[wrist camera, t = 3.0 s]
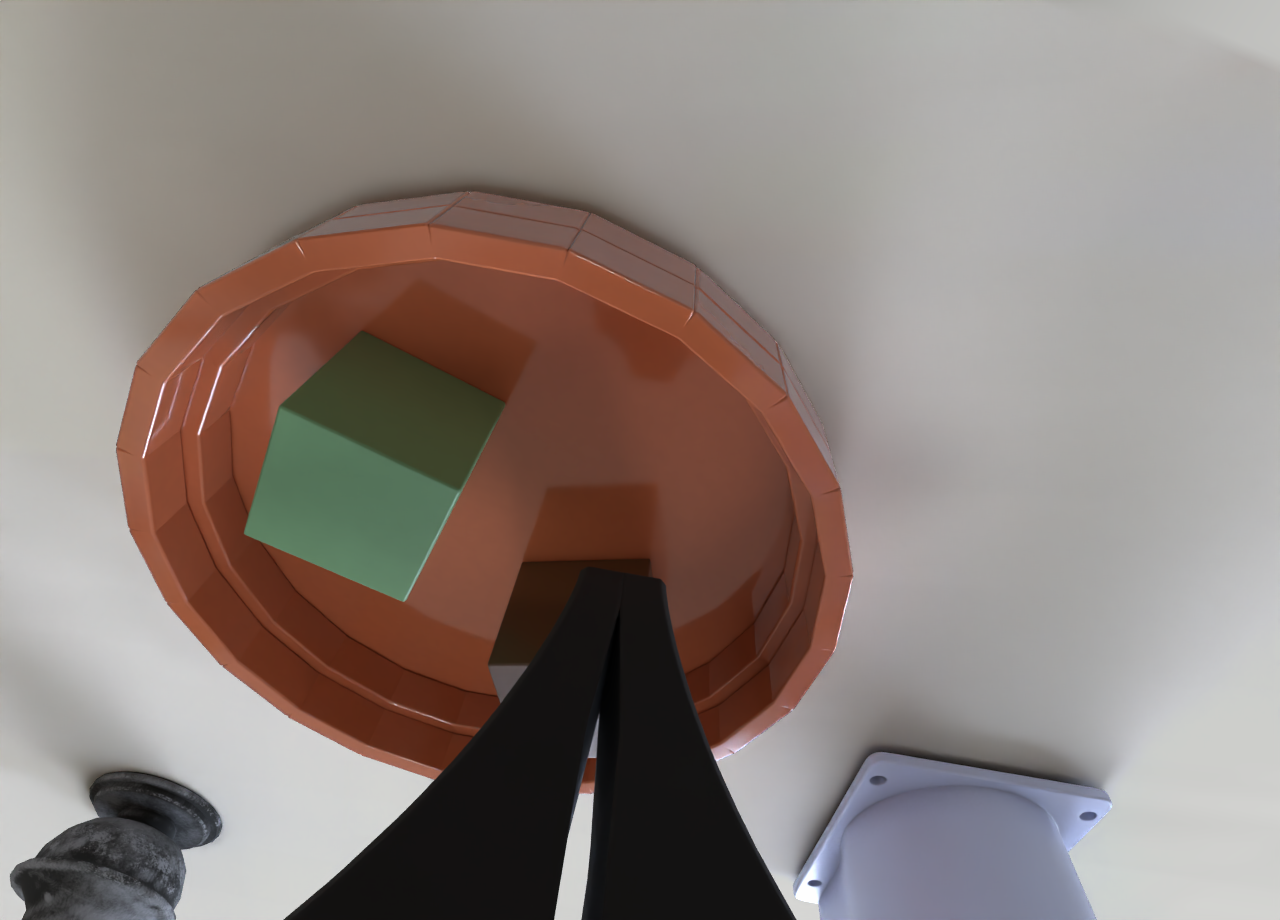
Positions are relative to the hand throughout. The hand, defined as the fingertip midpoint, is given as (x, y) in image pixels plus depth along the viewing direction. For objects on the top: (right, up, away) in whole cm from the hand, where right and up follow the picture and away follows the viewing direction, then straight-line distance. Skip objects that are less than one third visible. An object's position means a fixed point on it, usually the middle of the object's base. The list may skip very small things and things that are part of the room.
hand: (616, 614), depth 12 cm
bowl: (-3, +1, +7) cm, 7 cm away
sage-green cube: (-5, +4, +5) cm, 8 cm away
